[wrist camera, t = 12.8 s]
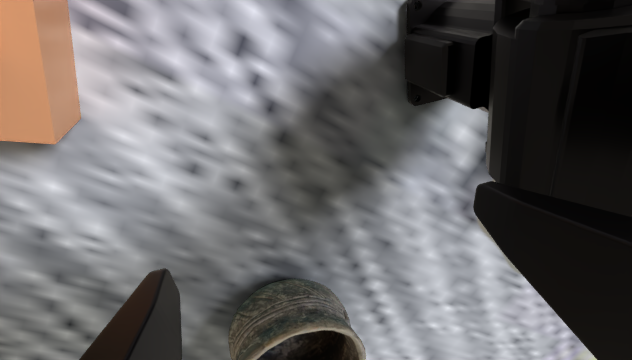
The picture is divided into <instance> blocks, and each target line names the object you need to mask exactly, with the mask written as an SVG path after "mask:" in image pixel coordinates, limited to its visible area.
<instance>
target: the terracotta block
mask: <svg viewBox="0 0 632 360" xmlns="http://www.w3.org/2000/svg"><path fill="white" fill-rule="evenodd" d="M80 119H81V113H80V104H79V96H78V87H77V79H76V70H75V61H74V53H73V44H72V36H71V27H70V18H69V10H68V1H67V0H0V141H14V142H29V143H44V144H56V143H57V142H58V141H59V140H60V139H61V138H62V137H63V136H64V135H65V134H66V133H67V132H68V131H69V130H70V129H71V128H72V127H73V126H74V125H75V124H76V123H77V122H78V121H79V120H80Z"/></svg>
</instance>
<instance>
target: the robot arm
mask: <svg viewBox="0 0 632 360" xmlns="http://www.w3.org/2000/svg"><path fill="white" fill-rule="evenodd" d="M416 2H418V8H417V9H416V10H415V9H414V4H415V3H416ZM405 79H406V80H407V86H408V102H409V103H410V104H412V105H414V106H418V105H422V104H426V103H430V102H434V101H437V100H441V99H445V98H449V99H451V100H454V101H456V102H458V103H460V104H462V105H465V106H467V107H469V108H471V109H476V108H478V109H481V110H483V111H485V112H488V131H487V142H486V146H485V152H486V165H487V169H488V173H489V175H490V176H491V177H492V178H493V179H494V180H495V181H496V182H492V181H490V182H486V183H482V184H479V185H478V186H477V188H476V193H475V199H474V206H473V208H474V212H475V214H476V216H477V217H478V219H479V220H480V221H481V223H482V224H483V226H484V227H485V228H486V229H487V231H488V232H489V234H490V235H491V237H492V238H493V239H494V241H495V242H496V244H497V245H498V246H499V248H500V249H501V250H502V252H503V253H504V254H505V255H506V257H507V258H508V259H509V260H510V261H511V263H512V264H513V265H514V266H515V267H516V268H517V269H518V270H519V272H520V273H521V274H522V275H523V276H524V277H525V278H526V280H527V281H528V282H529V283H530V284H531V285H532V286H533V287H534V289H535V290H536V291H537V292H538V293H539V294H540V295H541V297H542V298H543V299H544V300H545V301H546V302H547V303H548V304H549V306H550V307H551V308H552V309H553V310H554V311H555V312H556V314H557V315H558V316H559V317H560V318H561V319H562V320H563V321H564V323H565V324H566V325H567V326H568V327H569V328H570V329H571V330H572V332H573V333H574V334H575V335H576V336H577V337H578V338H579V340H580V341H581V342H582V343H583V344H584V345H585V346H586V347H587V349H588V350H589V351H590V352H591V353H592V354H593V355H594V357H595V358H596V359H597V360H632V0H409V1H408V3H407V36H406V38H405ZM416 95H418V98H417V99H416V100H415V101H414V97H415V96H416ZM79 360H182V338H181V312H180V295H179V291H178V288H177V286H176V284H175V282H174V280H173V278H172V276H171V274H170V272H169V270H168V269H166V268H163V269H160V270H156V271H152V272H150V273H149V274H148V275H147V276H146V277H145V279H144V280H143V281H142V282H141V284H140V285H139V286H138V287H137V288H136V290H135V291H134V292H133V293H132V295H131V296H130V297H129V298H128V300H127V301H126V302H125V303H124V305H123V306H122V307H121V308H120V310H119V311H118V312H117V313H116V315H115V316H114V317H113V318H112V319H111V321H110V322H109V323H108V324H107V326H106V327H105V328H104V329H103V331H102V332H101V333H100V334H99V336H98V337H97V338H96V339H95V341H94V342H93V343H92V344H91V346H90V347H89V348H88V349H87V350H86V352H85V353H84V354H83V355H82V357H81V358H80V359H79Z"/></svg>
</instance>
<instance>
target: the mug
mask: <svg viewBox="0 0 632 360" xmlns="http://www.w3.org/2000/svg"><path fill="white" fill-rule="evenodd" d="M229 348H230V354H231V358H232V360H366V353H365V348H364V346H363V343H362V341H361V340H360V338H359V337H358V336H357V334H356V333H355V332H354V331H353V329H352V328H351V325H350V321H349V317H348V314H347V312H346V310H345V308H344V306H343V305H342V303H341V302H340V301H339V299H338V298H337V297H336V295H335V294H334V293H333V292H332V291H331V290H330V289H328V288H327V287H325V286H323V285H321V284H319V283H316V282H313V281H309V280H304V279H295V278H294V279H288V280H283V281H279V282H274V283H271V284H268V285H266V286H264V287H262V288H261V289H259V290H257V291H256V292H254V293H253V294H252V296H250V297H249V298H248V299H247V300H246V301H245V302H244V303H243V304H242V305H241V306H240V308H239V309H238V310H237V313H236V314H235V315H234V317H233V320H232V323H231V326H230V330H229Z"/></svg>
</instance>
